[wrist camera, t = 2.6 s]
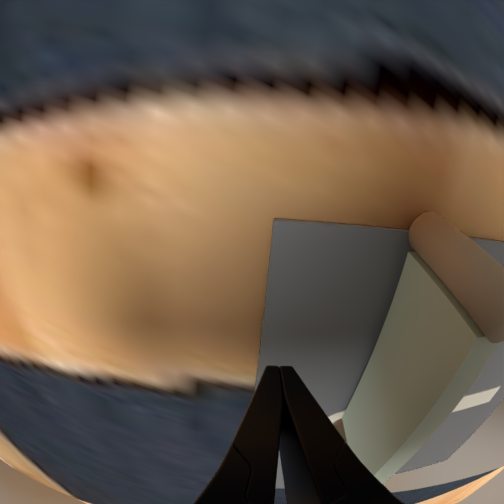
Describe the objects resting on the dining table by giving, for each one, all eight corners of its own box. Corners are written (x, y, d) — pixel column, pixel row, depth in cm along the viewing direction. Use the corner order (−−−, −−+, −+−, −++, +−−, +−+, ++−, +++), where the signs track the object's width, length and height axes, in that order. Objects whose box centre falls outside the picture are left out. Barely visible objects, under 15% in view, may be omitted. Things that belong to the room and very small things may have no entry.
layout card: (445, 458, 22) (446, 460, 21) (242, 486, 21) (242, 489, 21) (582, 253, 11) (584, 255, 11) (273, 218, 10) (274, 221, 10)
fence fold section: (364, 415, 15) (384, 491, 10) (338, 418, 15) (353, 497, 10) (449, 214, 9) (539, 289, 5) (414, 208, 9) (505, 290, 5)
